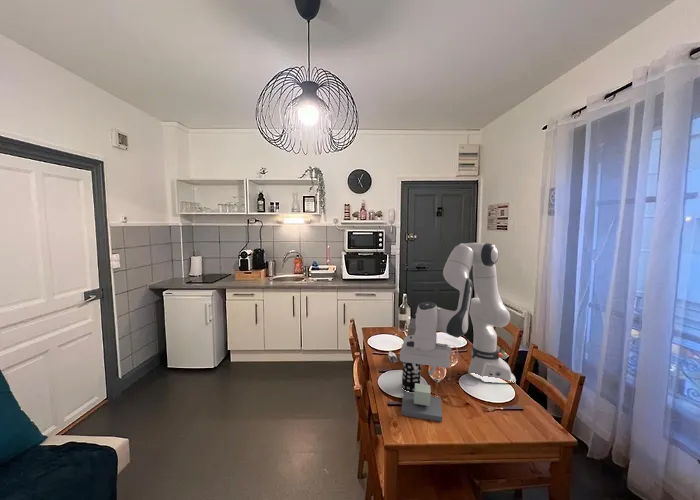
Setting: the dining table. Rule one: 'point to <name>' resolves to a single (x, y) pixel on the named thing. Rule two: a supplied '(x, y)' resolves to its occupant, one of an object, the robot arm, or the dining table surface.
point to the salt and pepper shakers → (392, 356)
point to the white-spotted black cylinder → (410, 376)
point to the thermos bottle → (412, 326)
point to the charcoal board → (421, 408)
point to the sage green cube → (422, 394)
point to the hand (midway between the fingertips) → (423, 374)
